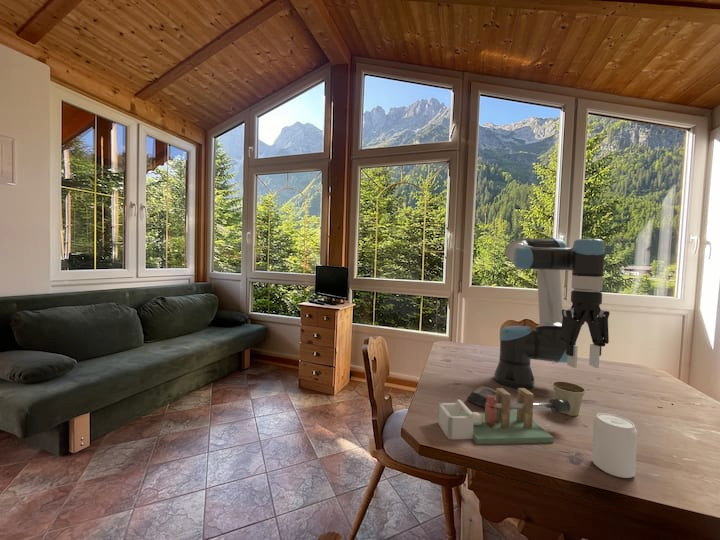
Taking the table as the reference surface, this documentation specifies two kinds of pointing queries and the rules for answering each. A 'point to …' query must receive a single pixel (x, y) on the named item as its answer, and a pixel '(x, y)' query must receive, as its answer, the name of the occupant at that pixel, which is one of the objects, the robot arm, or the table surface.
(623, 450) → the beverage can
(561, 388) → the flower pot
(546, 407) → the rod
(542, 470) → the table surface
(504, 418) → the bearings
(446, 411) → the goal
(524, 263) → the robot arm
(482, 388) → the rock
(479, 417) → the ball
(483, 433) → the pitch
